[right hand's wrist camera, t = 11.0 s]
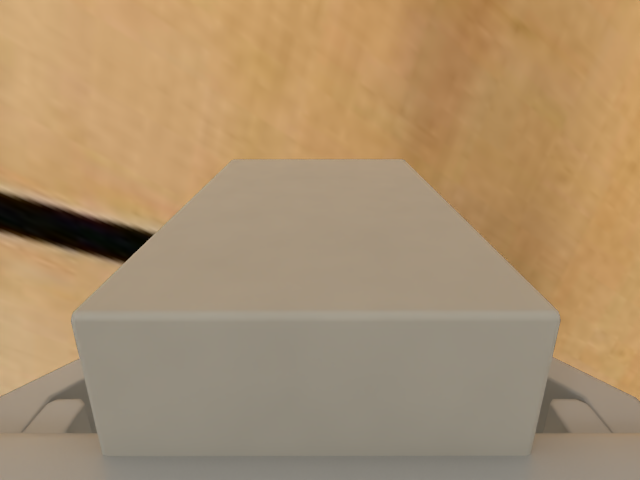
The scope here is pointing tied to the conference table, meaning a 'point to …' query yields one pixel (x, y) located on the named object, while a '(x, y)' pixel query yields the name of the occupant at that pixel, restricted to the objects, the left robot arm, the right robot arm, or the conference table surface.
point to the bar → (316, 324)
